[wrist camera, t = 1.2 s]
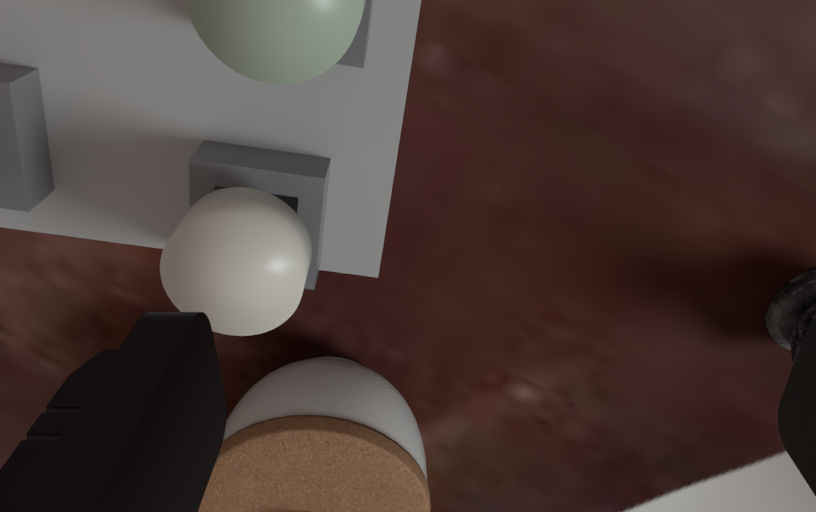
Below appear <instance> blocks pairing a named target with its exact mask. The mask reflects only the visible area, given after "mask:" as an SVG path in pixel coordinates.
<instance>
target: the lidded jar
mask: <svg viewBox="0 0 816 512" xmlns="http://www.w3.org/2000/svg"><path fill="white" fill-rule="evenodd" d="M198 512H430V495H429V487H428V484H427V474H426V460H425V453H424V447H423V442H422V439H421V435H420V432H419V429H418V426H417V423H416V420H415V417H414V415H413V413H412V412H411V410H410V408H409V406H408V404H407V403H406V401H405V399H404V398H403V397H402V396H401V394H400V393H399V392H398V390H396V389H395V388H394V387H393V386H392V385H391V384H390V383H389V382H388V381H387V380H386V379H385V378H383V377H382V376H380V375H379V374H377V373H376V372H375V371H373V370H371V369H369V368H367V367H365V366H363V365H361V364H359V363H357V362H355V361H352V360H349V359H346V358H341V357H332V356H323V357H315V358H310V359H306V360H300V361H296V362H293V363H290V364H287V365H285V366H283V367H281V368H279V369H276V370H274V371H273V372H271V373H269V374H267V375H266V376H265V377H263V378H262V379H260V380H259V381H258V382H257V383H256V384H255V385H253V386H252V387H251V388H250V389H249V390H248V391H247V392H246V393H245V394H244V395H243V397H242V398H241V399H240V401H239V402H238V404H237V405H236V406H235V408H234V409H233V411H232V412H231V414H230V415H229V417H228V419H227V420H226V427H225V434H224V439H223V443H222V446H221V449H220V452H219V454H218V457H217V460H216V463H215V465H214V468H213V471H212V474H211V476H210V479H209V482H208V485H207V488H206V490H205V493H204V496H203V499H202V501H201V504H200V507H199V510H198Z"/></svg>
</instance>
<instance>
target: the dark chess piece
mask: <svg viewBox="0 0 816 512" xmlns="http://www.w3.org/2000/svg"><path fill="white" fill-rule="evenodd" d="M815 318H816V268H814V269H811V270H808V271H806V272H804V273H802V274H800V275H798V276H796V277H794V278H793V279H791V280H790V281H789V282H788V283H786V284H785V285H784V286H782V288H781V289H780V290H779V291H778V292H777V293H776V294H775V296H774V297H773V299H772V300H771V302H770V304H769V306H768V308H767V313H766V318H765V321H766V328H767V331H768V332H769V334H770V336H771V338H772V339H773V340H774V341H775V342H777V343H778V344H779V345H780V346H782V347H785V348H787V349H790V350H791V353H792V360H793V364H794V363H795V360H796V357H797V354H798V352H799V349H800V346H801V343H802V341H803V338H804V335H805V332H806V330H807V328H808V326H809V324H810V323H811V321H812V320H813V319H815Z"/></svg>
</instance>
